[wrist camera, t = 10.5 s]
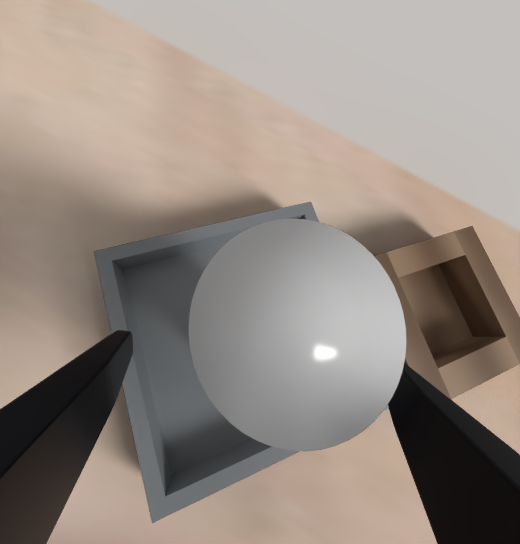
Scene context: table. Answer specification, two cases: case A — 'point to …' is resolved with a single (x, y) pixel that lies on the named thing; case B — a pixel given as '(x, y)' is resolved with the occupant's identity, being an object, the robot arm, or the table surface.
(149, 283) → the parts tray
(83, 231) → the table surface
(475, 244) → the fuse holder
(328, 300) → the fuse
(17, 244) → the table surface
